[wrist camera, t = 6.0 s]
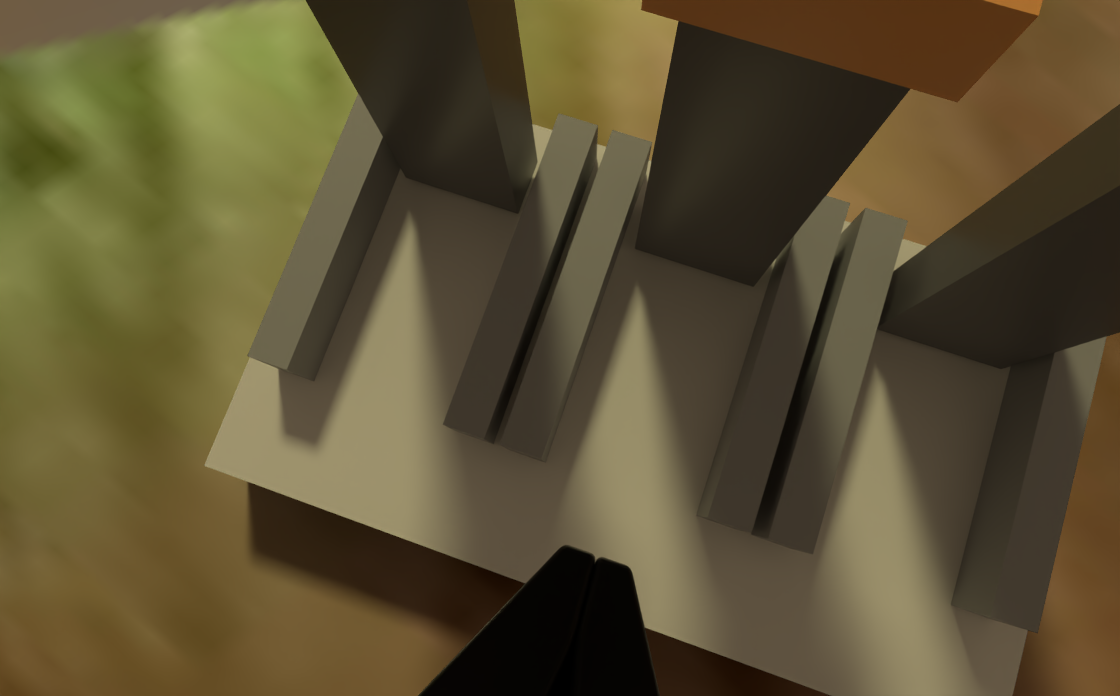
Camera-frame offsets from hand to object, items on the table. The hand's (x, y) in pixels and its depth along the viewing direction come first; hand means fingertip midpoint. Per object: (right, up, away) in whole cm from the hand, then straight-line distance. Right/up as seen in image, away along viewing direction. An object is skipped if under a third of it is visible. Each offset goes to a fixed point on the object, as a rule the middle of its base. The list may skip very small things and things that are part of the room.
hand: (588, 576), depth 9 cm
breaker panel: (+2, +2, +8) cm, 9 cm away
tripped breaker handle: (+3, +5, +7) cm, 9 cm away
